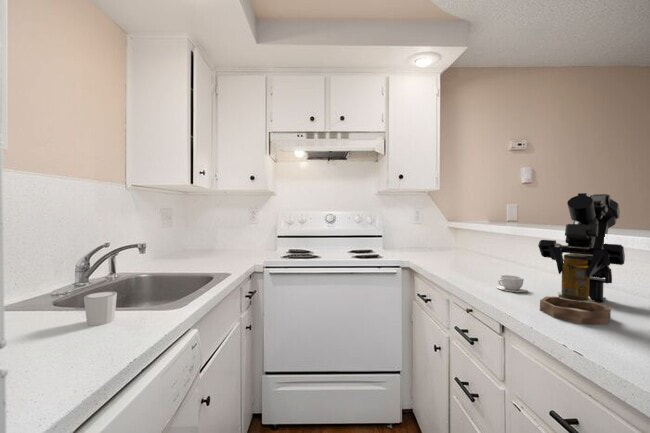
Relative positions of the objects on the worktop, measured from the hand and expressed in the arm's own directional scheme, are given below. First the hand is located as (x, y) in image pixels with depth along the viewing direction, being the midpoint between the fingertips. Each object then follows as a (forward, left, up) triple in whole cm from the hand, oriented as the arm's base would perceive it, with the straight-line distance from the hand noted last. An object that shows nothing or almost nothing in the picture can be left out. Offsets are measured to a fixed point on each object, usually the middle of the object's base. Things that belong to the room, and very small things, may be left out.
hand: (573, 274), depth 85 cm
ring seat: (-1, 0, -11) cm, 11 cm away
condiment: (-1, 0, -7) cm, 7 cm away
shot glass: (+101, -76, -12) cm, 127 cm away
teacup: (-19, -22, -12) cm, 31 cm away
